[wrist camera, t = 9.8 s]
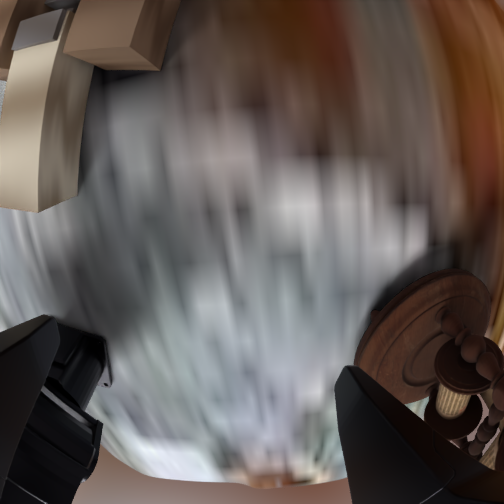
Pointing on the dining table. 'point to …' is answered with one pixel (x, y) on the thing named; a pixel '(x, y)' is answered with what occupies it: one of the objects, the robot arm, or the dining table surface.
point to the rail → (42, 115)
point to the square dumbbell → (99, 31)
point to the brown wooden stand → (442, 358)
